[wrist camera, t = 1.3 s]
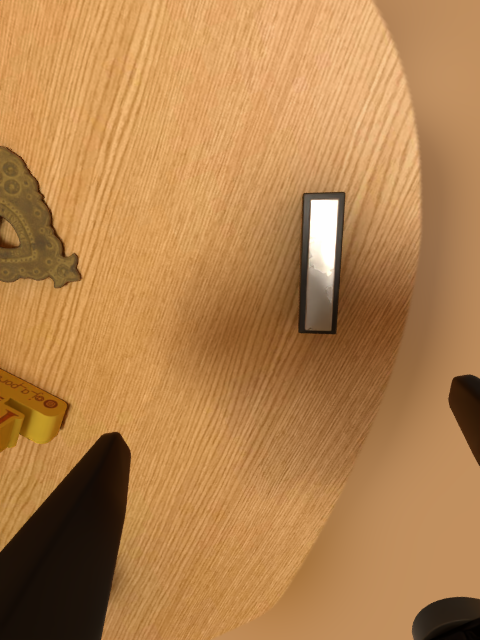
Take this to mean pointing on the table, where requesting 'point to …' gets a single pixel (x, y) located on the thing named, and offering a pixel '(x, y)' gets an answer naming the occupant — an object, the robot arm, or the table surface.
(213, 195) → the table surface
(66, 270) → the ornament
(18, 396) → the decorative sign
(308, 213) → the black and silver bar
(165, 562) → the table surface
